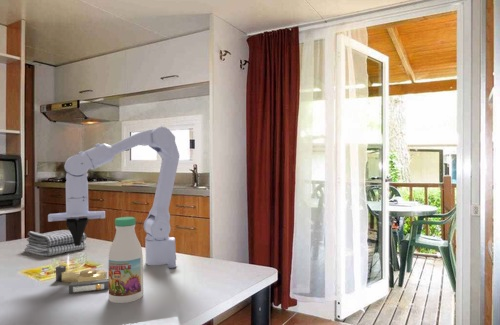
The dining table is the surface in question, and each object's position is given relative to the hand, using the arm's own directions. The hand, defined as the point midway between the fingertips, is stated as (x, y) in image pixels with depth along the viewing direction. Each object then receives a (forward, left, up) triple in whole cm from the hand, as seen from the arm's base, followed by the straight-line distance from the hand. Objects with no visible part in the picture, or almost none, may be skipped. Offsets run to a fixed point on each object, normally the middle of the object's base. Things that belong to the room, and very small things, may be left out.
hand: (78, 245), depth 98 cm
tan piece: (-2, +7, -8) cm, 11 cm away
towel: (+15, -41, -10) cm, 45 cm away
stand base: (-6, +8, -10) cm, 14 cm away
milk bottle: (-14, +22, -10) cm, 28 cm away
